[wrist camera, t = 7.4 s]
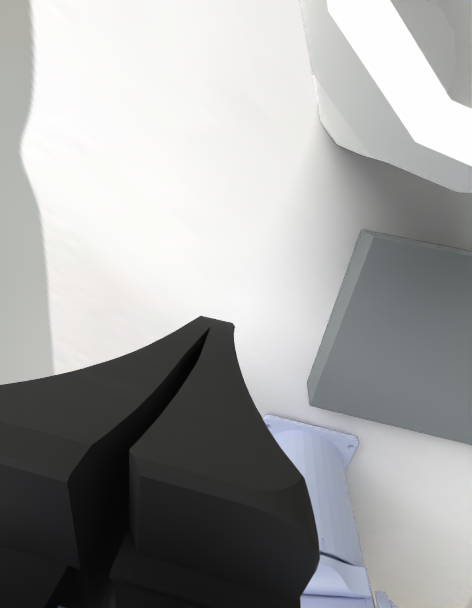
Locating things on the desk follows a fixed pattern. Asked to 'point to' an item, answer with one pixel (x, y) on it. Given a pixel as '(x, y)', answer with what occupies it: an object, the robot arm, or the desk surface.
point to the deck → (400, 338)
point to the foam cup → (396, 82)
